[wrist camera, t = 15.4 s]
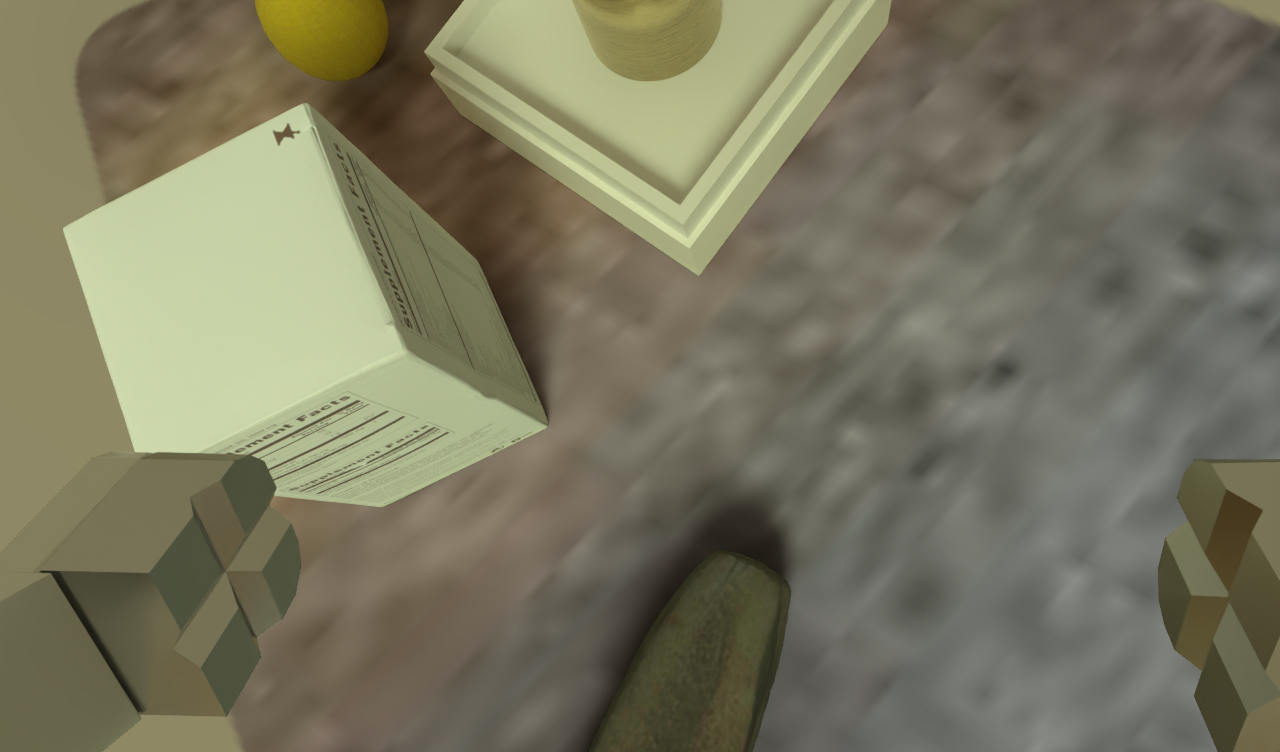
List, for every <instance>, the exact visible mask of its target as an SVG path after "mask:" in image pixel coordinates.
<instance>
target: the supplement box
mask: <svg viewBox="0 0 1280 752" xmlns="http://www.w3.org/2000/svg"><path fill="white" fill-rule="evenodd" d="M63 230H64V231H63V232H64V235H65V237H66V241H67V243H68V246H69V249H70V253H71V256H72V259H73V262H74V265H75V268H76V271H77V274H78V277H79V279H80V283H81V286H82V289H83V292H84V295H85V298H86V301H87V304H88V307H89V311H90V314H91V317H92V320H93V323H94V326H95V329H96V332H97V335H98V338H99V341H100V345H101V347H102V351H103V354H104V357H105V360H106V363H107V366H108V370H109V372H110V375H111V378H112V381H113V384H114V387H115V390H116V393H117V397H118V400H119V403H120V406H121V408H122V412H123V415H124V418H125V421H126V424H127V427H128V431H129V434H130V437H131V440H132V444H133V447H134V450H135V452H148V453H156V452H174V453H209V454H244V455H251V456H254V457H256V458H258V459H261V460H263V461H265V463H266V465H267V468H268V470H269V472H270V474H271V476H272V478H273V481H274V483H275V485H276V487H277V489H276V491H275V493H274V496H281V497H291V498H301V499H310V500H319V501H329V502H340V503H349V504H358V505H367V506H377V507H382V506H385V505H388V504H390V503H392V502H394V501H396V500H399V499H401V498H403V497H405V496H407V495H409V494H411V493H413V492H415V491H417V490H419V489H422V488H424V487H426V486H428V485H430V484H432V483H434V482H436V481H438V480H440V479H442V478H444V477H446V476H448V475H451V474H453V473H455V472H457V471H459V470H461V469H463V468H465V467H467V466H469V465H471V464H473V463H475V462H477V461H479V460H481V459H484V458H486V457H488V456H490V455H492V454H494V453H496V452H498V451H500V450H502V449H504V448H506V447H508V446H510V445H512V444H515V443H517V442H519V441H521V440H523V439H525V438H527V437H529V436H531V435H533V434H535V433H537V432H539V431H541V430H543V429H545V428H546V427H547V426H548V420H547V417H546V415H545V412H544V410H543V407H542V405H541V403H540V400H539V398H538V396H537V393H536V391H535V389H534V386H533V384H532V382H531V379H530V377H529V375H528V372H527V370H526V368H525V366H524V364H523V361H522V359H521V357H520V355H519V353H518V350H517V348H516V346H515V344H514V342H513V339H512V337H511V335H510V332H509V330H508V328H507V326H506V323H505V321H504V319H503V317H502V314H501V312H500V310H499V307H498V305H497V303H496V301H495V298H494V296H493V294H492V291H491V289H490V287H489V285H488V282H487V280H486V278H485V275H484V273H483V271H482V269H481V267H480V264H479V262H478V261H477V260H476V259H475V258H474V257H473V256H472V255H471V254H470V253H469V252H468V251H467V250H466V249H465V248H464V247H463V246H462V245H461V244H459V243H458V242H457V241H456V240H455V239H454V238H453V237H452V236H451V235H450V234H449V233H448V232H447V231H445V230H444V229H443V228H442V227H441V226H440V225H439V224H438V223H437V222H436V221H435V220H433V219H432V218H431V217H430V216H429V215H428V214H427V213H426V212H425V211H424V210H423V209H422V208H421V207H419V206H418V205H417V204H416V203H415V202H414V201H413V200H412V199H411V198H410V197H409V196H407V195H406V194H405V193H404V192H403V191H402V190H401V189H400V188H399V187H397V186H396V185H395V184H394V183H393V182H392V181H391V180H390V179H389V178H388V177H387V176H386V175H385V174H384V173H383V172H382V171H381V170H380V169H379V168H378V167H377V166H375V165H374V164H373V163H372V162H371V161H370V160H369V159H368V158H367V157H366V156H365V155H364V154H363V153H362V152H361V151H360V150H359V149H357V148H356V147H355V146H354V145H353V144H352V143H351V142H350V141H349V140H348V139H347V138H346V137H345V136H343V135H342V134H341V133H340V132H339V131H338V130H337V129H336V128H335V127H334V126H333V125H332V124H331V123H330V122H328V121H327V120H326V119H325V118H324V117H323V116H322V115H321V114H320V113H319V112H318V111H317V110H315V109H314V108H313V107H312V106H311V105H310V104H308V103H303V104H301V105H299V106H296V107H294V108H292V109H290V110H288V111H286V112H284V113H282V114H280V115H278V116H276V117H274V118H272V119H270V120H268V121H266V122H265V123H263V124H261V125H259V126H257V127H255V128H253V129H251V130H249V131H247V132H245V133H243V134H241V135H239V136H237V137H235V138H233V139H232V140H230V141H228V142H226V143H224V144H222V145H220V146H218V147H216V148H214V149H212V150H210V151H208V152H207V153H205V154H203V155H201V156H199V157H197V158H195V159H193V160H191V161H189V162H187V163H185V164H183V165H182V166H180V167H178V168H176V169H174V170H172V171H170V172H168V173H166V174H164V175H162V176H160V177H158V178H156V179H155V180H153V181H151V182H149V183H147V184H145V185H143V186H141V187H139V188H137V189H135V190H133V191H131V192H129V193H127V194H125V195H123V196H121V197H120V198H118V199H116V200H114V201H112V202H110V203H108V204H106V205H104V206H102V207H100V208H98V209H96V210H94V211H92V212H90V213H89V214H87V215H85V216H83V217H81V218H80V219H78V220H76V221H74V222H72V223H70V224H69V225H67V226H65V227H64V229H63Z"/></svg>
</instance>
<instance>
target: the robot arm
mask: <svg viewBox="0 0 1280 752" xmlns="http://www.w3.org/2000/svg"><path fill="white" fill-rule="evenodd" d="M276 489H277V487H276V485H275V483H274V481H273V478H272V476H271V474H270V472H269V470H268V468H267V465H266V463H265V461H263V460H261V459H258V458H256V457H254V456H251V455H244V454H209V453H174V452H156V453H148V452H108V453H105V454H102V455H99V456H96V457H93V458H91V459H90V461H88V462H87V464H86V465H85V466H84V467H83V468H82V469H81V470H80V471H79V472H78V473H77V474H76V475H75V476H74V477H73V478H72V479H71V480H70V481H69V482H68V483H67V484H66V485H65V486H64V487H63V488H62V489H61V490H60V491H59V492H58V493H57V495H56V496H55V497H54V498H53V499H52V500H51V501H50V502H49V503H48V504H47V505H46V506H45V507H44V508H43V509H42V510H41V511H40V512H39V513H38V514H37V515H36V516H35V517H34V518H33V519H32V520H31V521H30V522H29V523H28V524H27V525H26V526H25V527H24V528H23V530H22V531H21V532H20V533H19V534H18V535H17V536H16V537H15V538H14V539H13V540H12V541H11V542H10V543H9V544H8V545H7V546H6V547H5V548H4V549H3V550H2V551H1V552H0V752H103V751H104V750H105V749H107V748H108V747H109V746H110V745H111V744H112V743H114V742H115V741H116V740H117V739H119V738H120V737H121V736H122V735H123V734H124V733H125V732H127V731H128V730H129V729H130V728H132V727H133V726H134V725H135V724H136V723H138V722H139V721H140V720H141V717H140V715H143V714H144V715H183V716H225V717H227V715H228V714H229V712H230V710H231V708H232V707H233V705H234V703H235V701H236V700H237V698H238V696H239V694H240V693H241V691H242V689H243V688H244V686H245V684H246V682H247V681H248V679H249V677H250V675H251V674H252V672H253V670H254V668H255V667H256V665H257V663H258V661H259V660H260V658H261V654H260V650H259V645H258V641H257V637H258V636H259V635H261V634H262V633H264V632H265V631H266V630H268V629H269V628H271V627H272V626H273V625H275V624H276V623H278V622H279V621H281V620H282V619H283V617H284V616H285V614H286V612H287V610H288V608H289V606H290V604H291V602H292V601H293V599H294V597H295V595H296V590H297V585H298V580H299V575H300V570H301V558H300V549H299V542H298V539H297V537H296V534H295V531H294V529H293V526H292V524H291V522H289V521H288V520H287V519H286V518H284V517H283V516H282V515H281V514H279V513H278V512H277V511H276V510H275V509H273V508H272V507H271V506H270V502H271V500H272V498H273V496H274V493H275V491H276ZM1177 499H1178V501H1179V503H1180V505H1181V507H1182V509H1183V511H1184V513H1185V515H1186V517H1187V519H1188V521H1187V522H1185V523H1184V524H1183V525H1181V526H1180V527H1179V528H1178V529H1176V530H1175V531H1174V532H1172V533H1171V534H1170V535H1168V536H1167V537H1166V538H1165V541H1164V545H1163V550H1162V554H1161V558H1160V562H1159V567H1158V587H1159V603H1160V608H1161V612H1162V616H1163V621H1164V625H1165V627H1166V630H1167V632H1168V635H1169V637H1170V640H1171V642H1172V645H1173V647H1174V650H1175V651H1177V652H1178V653H1179V654H1180V655H1182V656H1183V657H1184V658H1186V659H1187V660H1188V661H1189V662H1191V663H1192V664H1193V665H1195V666H1196V667H1197V668H1199V669H1200V670H1201V671H1202V673H1201V676H1200V679H1199V682H1198V685H1197V688H1196V691H1195V694H1194V697H1195V700H1196V702H1197V704H1198V707H1199V709H1200V711H1201V714H1202V716H1203V718H1204V721H1205V723H1206V725H1207V728H1208V730H1209V732H1210V735H1211V737H1212V739H1213V742H1214V744H1215V746H1216V748H1217V751H1218V752H1280V459H1194V461H1193V462H1192V464H1191V465H1190V466H1189V468H1188V469H1187V470H1186V472H1185V473H1184V476H1183V479H1182V482H1181V486H1180V489H1179V492H1178V495H1177Z"/></svg>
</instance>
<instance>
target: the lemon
mask: <svg viewBox="0 0 1280 752" xmlns="http://www.w3.org/2000/svg"><path fill="white" fill-rule="evenodd" d="M255 5H256V10H257V14H258V16H259V19H260V21H261V24H262V26H263V28H264V30H265V32H266V34H267V36H268V38H269V39H270V40H271V42H272V43H273V44H274V46H275V47H276V48H277V49H278V51H279V52H280V53H281V54H282V55H283V57H284V58H285V59H287V60H288V61H289V62H290V63H291V64H293V65H294V66H296V67H297V68H299V69H300V70H302V71H303V72H305V73H307V74H309V75H311V76H314V77H317V78H320V79H323V80H327V81H345V80H350V79H354V78H356V77H359V76H361V75H363V74H365V73H366V72H367V71H369V70H370V69H371V68H373V66H374V65H375V64H376V63H377V62H378V61H379V59H380V57H381V55H382V53H383V52H384V50H385V47H386V43H387V39H388V18H387V14H386V11H385V7H384V4H383V1H382V0H255Z"/></svg>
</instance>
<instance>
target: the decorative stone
mask: <svg viewBox="0 0 1280 752" xmlns="http://www.w3.org/2000/svg"><path fill="white" fill-rule="evenodd" d="M790 596H791V589H790V586H789V584H788V582H787V581H786V580H785V579H784V578H783V577H782V576H780V575H779V574H778V573H776V572H775V571H774V570H772V569H771V568H769V567H768V566H766V565H765V564H763V563H762V562H760V561H758V560H755V559H753V558H750V557H747V556H745V555H743V554H739V553H736V552H731V551H727V550H717V551H715V552H713V553H711V554H709V555H708V556H707V557H706V558H705V559H704V560H703V561H702V562H701V563H700V564H699V565H698V566H697V567H696V568H695V569H694V570H693V571H692V572H691V573H690V575H689V576H688V577H687V578H686V580H685V581H684V582H683V583H682V584H681V586H680V587H679V588H678V589H677V591H676V592H675V594H674V595H673V596H672V598H671V599H670V600H669V602H668V603H667V604H666V606H665V607H664V608H663V610H662V611H661V613H660V614H659V616H658V617H657V619H656V620H655V622H654V623H653V625H652V626H651V628H650V630H649V631H648V633H647V635H646V636H645V638H644V640H643V642H642V643H641V645H640V647H639V648H638V651H637V653H636V654H635V656H634V658H633V660H632V662H631V663H630V665H629V667H628V669H627V671H626V673H625V675H624V678H623V679H622V681H621V683H620V685H619V687H618V689H617V691H616V693H615V695H614V697H613V699H612V701H611V704H610V706H609V708H608V710H607V712H606V714H605V716H604V718H603V720H602V722H601V724H600V727H599V729H598V731H597V733H596V735H595V738H594V740H593V742H592V744H591V746H590V748H589V750H588V752H752V751H753V748H754V744H755V741H756V739H757V737H758V733H759V729H760V726H761V722H762V718H763V715H764V712H765V709H766V706H767V703H768V699H769V695H770V690H771V688H772V685H773V683H774V679H775V675H776V671H777V668H778V664H779V659H780V655H781V651H782V647H783V641H784V635H785V628H786V623H787V617H788V609H789V605H790Z"/></svg>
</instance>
